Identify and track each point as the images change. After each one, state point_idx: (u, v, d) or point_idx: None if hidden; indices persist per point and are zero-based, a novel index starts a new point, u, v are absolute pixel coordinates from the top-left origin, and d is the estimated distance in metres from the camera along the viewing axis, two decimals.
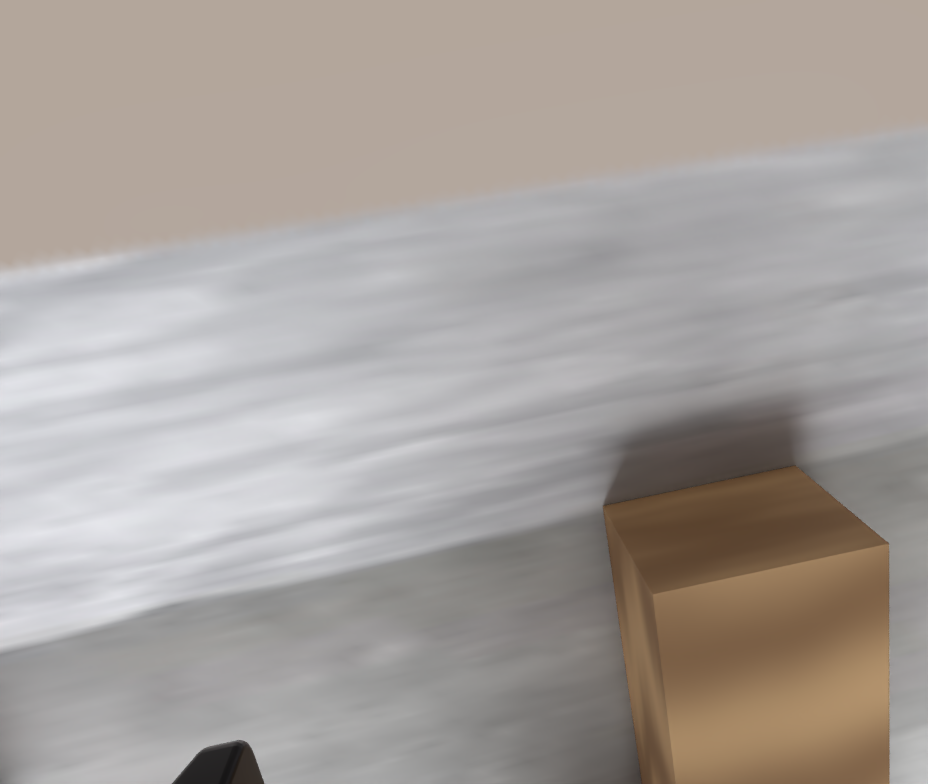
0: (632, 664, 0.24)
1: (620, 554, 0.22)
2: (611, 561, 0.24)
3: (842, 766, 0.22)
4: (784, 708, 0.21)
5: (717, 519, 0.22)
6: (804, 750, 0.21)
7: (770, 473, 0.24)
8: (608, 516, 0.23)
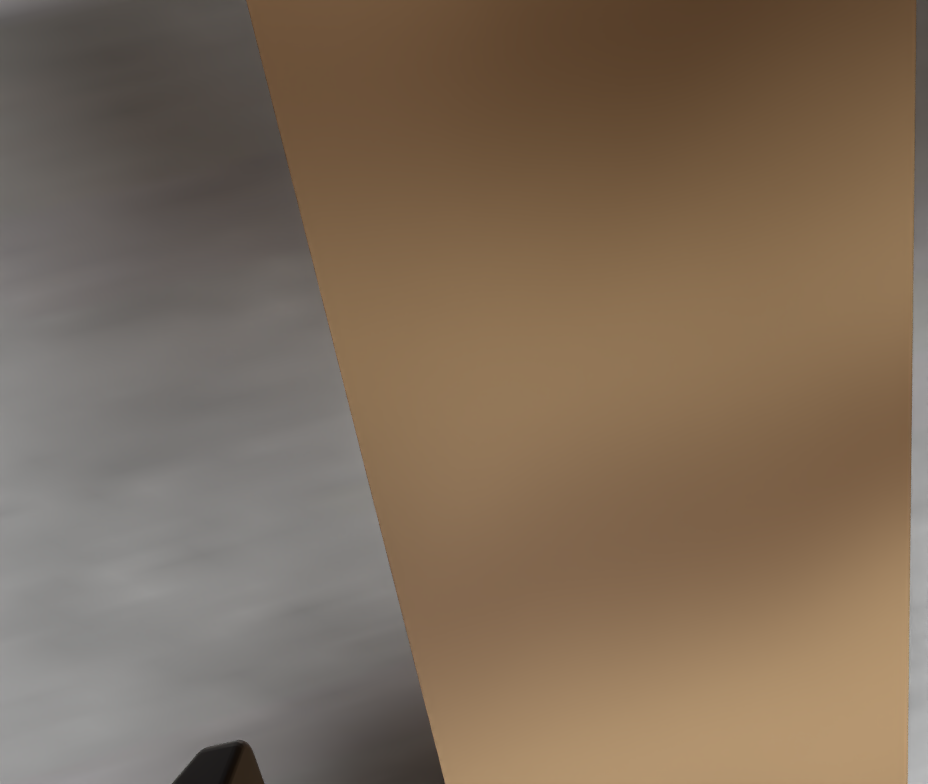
0: None
1: None
2: None
3: (793, 455, 0.09)
4: (637, 268, 0.08)
5: None
6: (696, 402, 0.08)
7: None
8: None
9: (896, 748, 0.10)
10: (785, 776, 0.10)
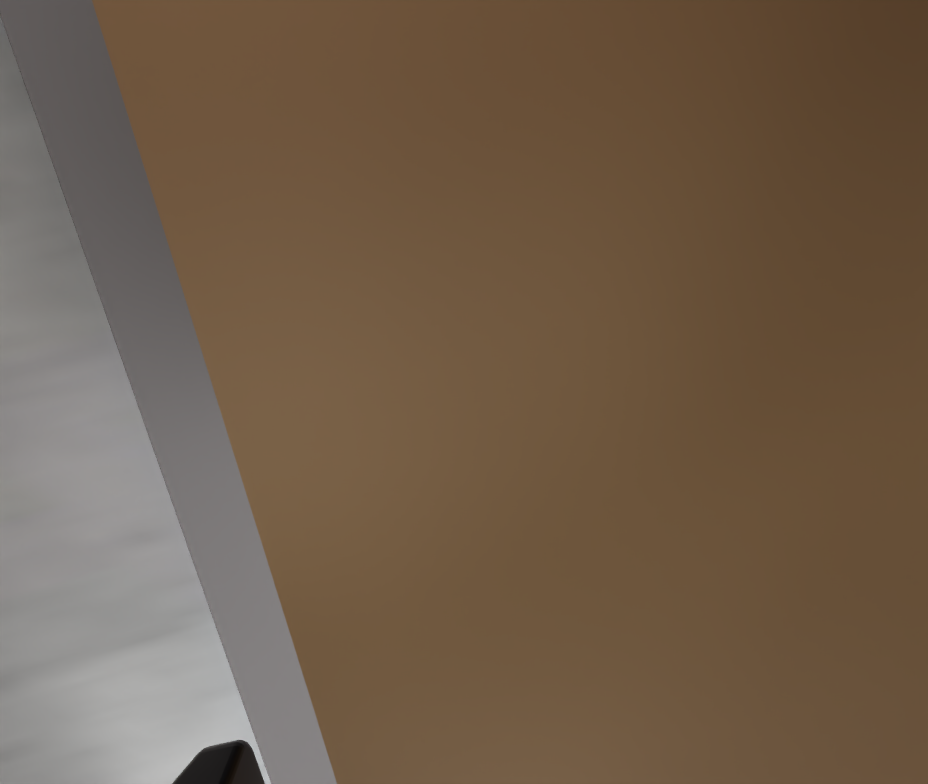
0: None
1: None
2: None
3: None
4: (872, 431, 0.04)
5: None
6: None
7: None
8: None
9: None
10: None
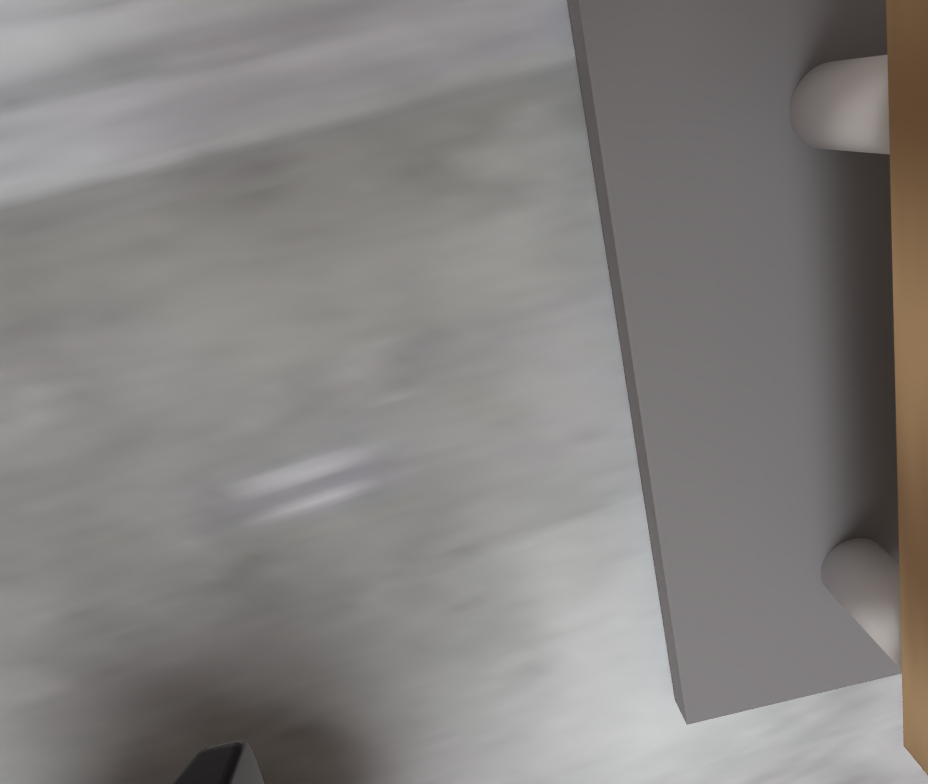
0: None
1: None
2: (903, 112, 0.13)
3: None
4: None
5: None
6: None
7: None
8: None
9: None
10: None
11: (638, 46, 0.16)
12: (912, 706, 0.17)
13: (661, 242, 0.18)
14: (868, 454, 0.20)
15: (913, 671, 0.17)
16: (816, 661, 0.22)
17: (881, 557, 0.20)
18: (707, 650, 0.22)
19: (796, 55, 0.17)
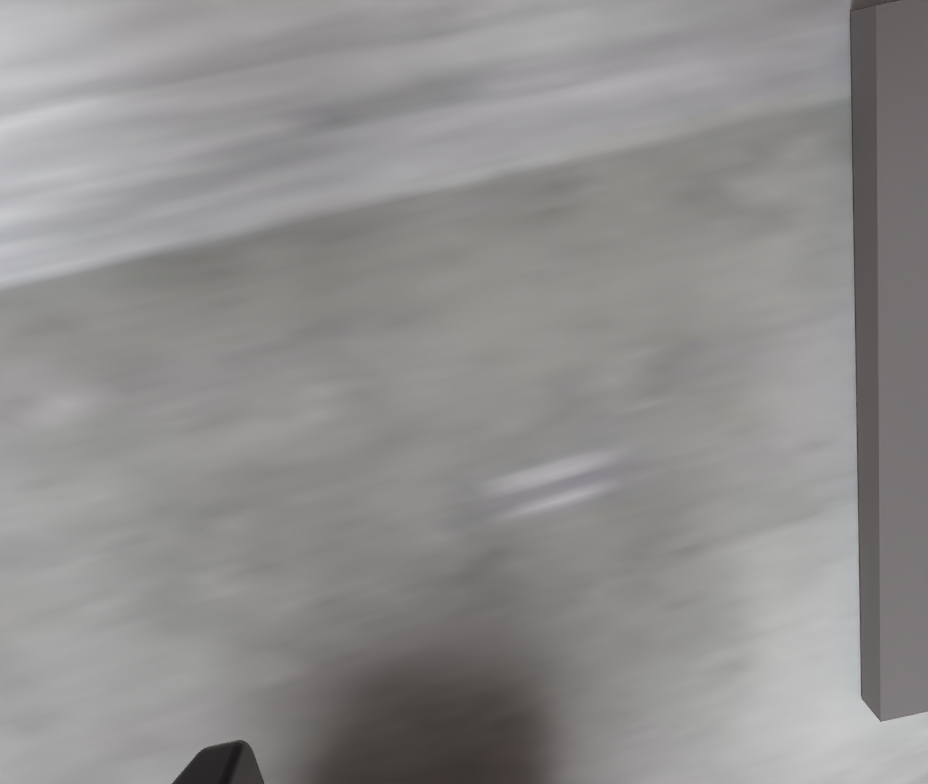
0: None
1: None
2: None
3: None
4: None
5: None
6: None
7: None
8: None
9: None
10: None
11: (923, 88, 0.18)
12: None
13: (919, 267, 0.19)
14: None
15: None
16: None
17: None
18: (908, 651, 0.23)
19: None
